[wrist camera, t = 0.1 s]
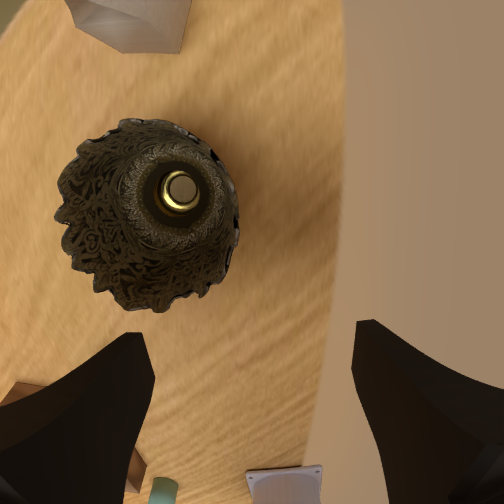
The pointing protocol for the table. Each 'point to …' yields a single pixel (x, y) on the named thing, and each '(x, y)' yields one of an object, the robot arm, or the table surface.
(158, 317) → the table surface
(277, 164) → the table surface
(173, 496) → the short pin
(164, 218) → the cup
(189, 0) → the grey wedge block
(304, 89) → the table surface
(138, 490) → the hole block
